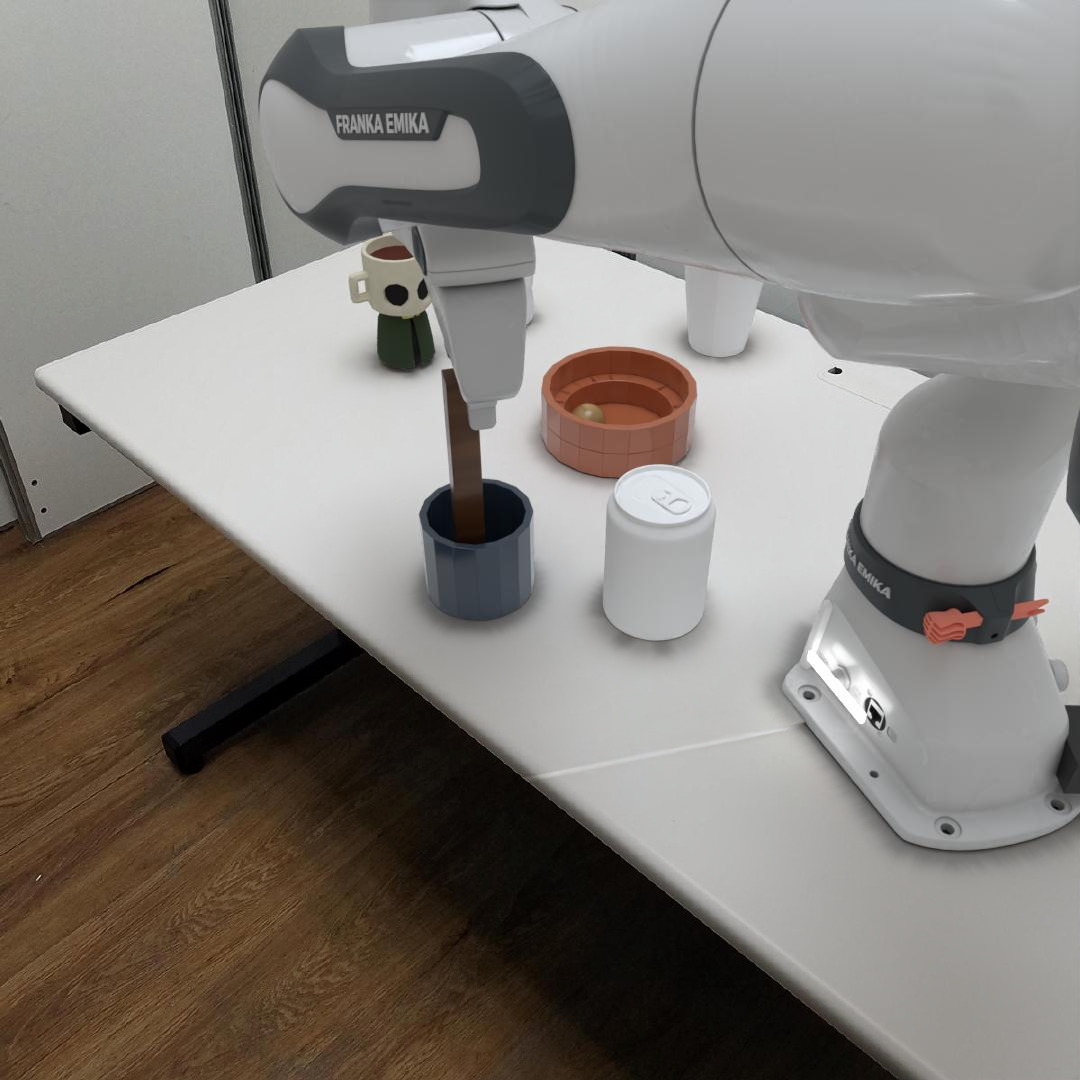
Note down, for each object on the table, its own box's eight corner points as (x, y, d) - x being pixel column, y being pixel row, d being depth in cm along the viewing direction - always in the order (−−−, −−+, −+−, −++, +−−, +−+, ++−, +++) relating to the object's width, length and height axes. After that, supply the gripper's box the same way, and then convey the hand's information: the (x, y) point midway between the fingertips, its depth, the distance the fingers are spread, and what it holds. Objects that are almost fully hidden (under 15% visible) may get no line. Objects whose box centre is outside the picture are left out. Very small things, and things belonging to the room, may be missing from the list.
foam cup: (758, 323, 121) (773, 214, 113) (762, 366, 114) (779, 253, 106) (674, 320, 122) (683, 211, 114) (674, 362, 115) (683, 249, 107)
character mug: (373, 387, 112) (359, 272, 104) (348, 357, 117) (332, 245, 108) (466, 359, 116) (459, 247, 108) (437, 331, 121) (429, 222, 112)
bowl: (712, 470, 100) (719, 417, 96) (562, 493, 98) (563, 439, 94) (664, 389, 111) (668, 338, 107) (527, 407, 109) (527, 356, 105)
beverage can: (647, 563, 90) (656, 447, 83) (723, 610, 86) (740, 492, 78) (581, 610, 86) (584, 492, 78) (658, 662, 82) (669, 543, 74)
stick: (488, 590, 87) (476, 381, 74) (461, 595, 87) (445, 385, 74) (483, 573, 89) (471, 365, 76) (457, 577, 89) (440, 369, 76)
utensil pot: (544, 614, 86) (543, 538, 81) (436, 632, 84) (428, 557, 79) (521, 545, 92) (519, 471, 87) (420, 561, 91) (412, 486, 86)
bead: (609, 411, 100) (572, 420, 100) (612, 442, 102) (577, 452, 102) (598, 392, 103) (562, 402, 102) (601, 423, 105) (566, 433, 105)
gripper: (387, 145, 74) (405, 323, 83) (431, 275, 59) (448, 476, 68) (476, 137, 75) (485, 314, 84) (542, 262, 60) (544, 462, 69)
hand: (469, 387), depth 76 cm, fingers open, 8 cm apart
